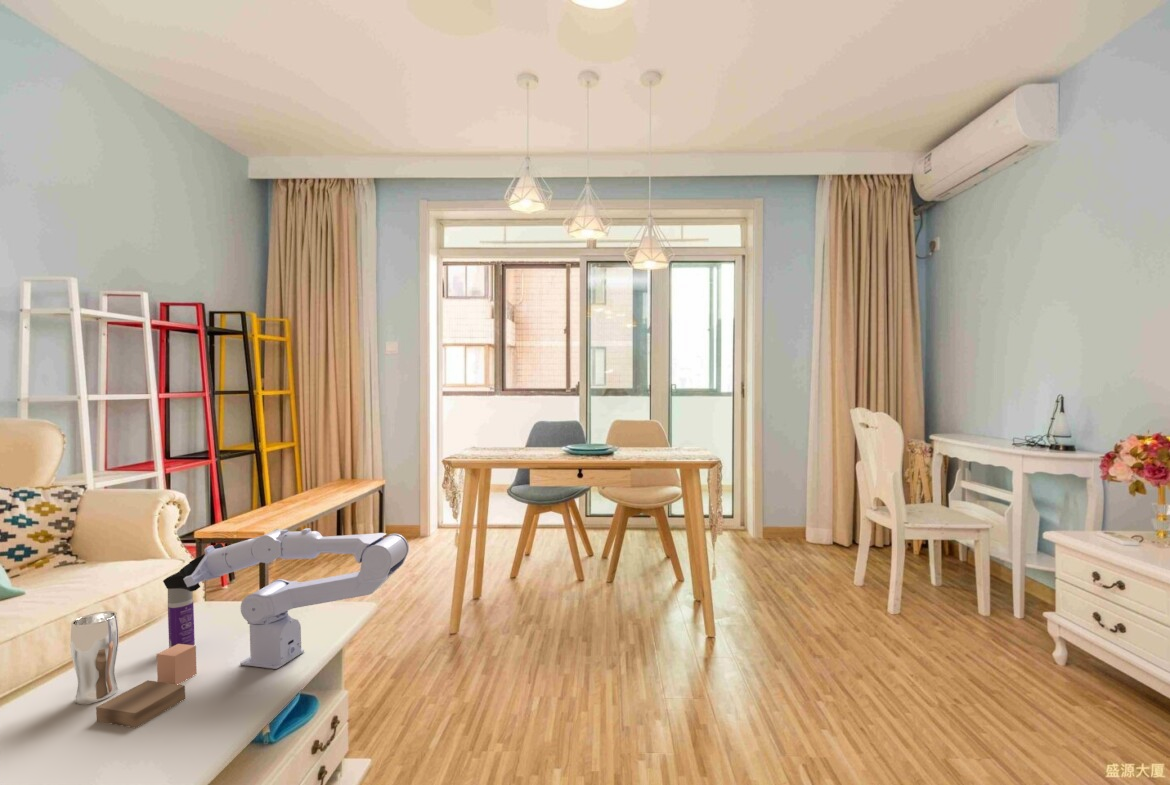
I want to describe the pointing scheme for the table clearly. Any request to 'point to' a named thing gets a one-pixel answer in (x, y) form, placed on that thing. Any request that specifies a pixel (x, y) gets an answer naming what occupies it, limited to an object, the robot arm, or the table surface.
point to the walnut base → (140, 703)
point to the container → (180, 617)
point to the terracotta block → (176, 664)
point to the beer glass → (95, 655)
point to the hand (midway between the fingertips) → (179, 574)
